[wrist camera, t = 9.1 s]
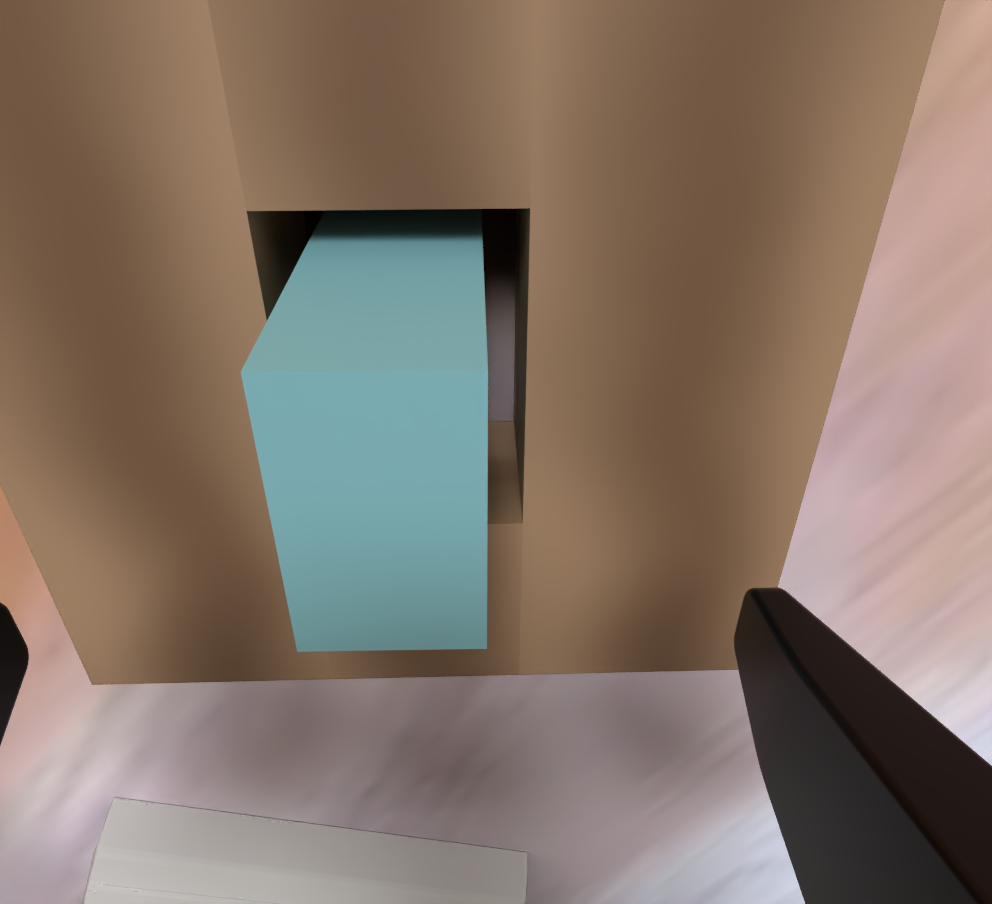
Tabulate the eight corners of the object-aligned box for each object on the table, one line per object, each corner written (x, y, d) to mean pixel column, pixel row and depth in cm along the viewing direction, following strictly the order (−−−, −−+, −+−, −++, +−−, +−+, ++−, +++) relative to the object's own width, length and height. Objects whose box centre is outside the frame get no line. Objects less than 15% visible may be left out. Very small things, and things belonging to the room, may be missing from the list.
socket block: (149, 569, 22) (91, 684, 18) (-100, -149, 13) (-304, -178, 9) (711, 557, 22) (754, 669, 19) (860, -148, 13) (994, -175, 10)
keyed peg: (358, 396, 19) (296, 651, 12) (336, 188, 16) (240, 371, 9) (480, 395, 19) (487, 648, 12) (480, 188, 16) (487, 371, 9)
